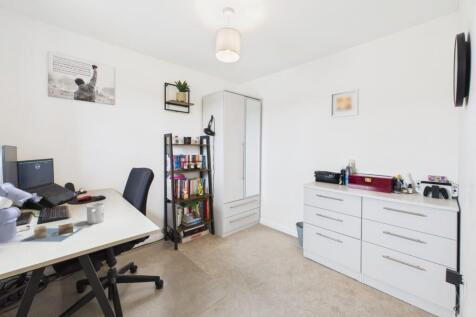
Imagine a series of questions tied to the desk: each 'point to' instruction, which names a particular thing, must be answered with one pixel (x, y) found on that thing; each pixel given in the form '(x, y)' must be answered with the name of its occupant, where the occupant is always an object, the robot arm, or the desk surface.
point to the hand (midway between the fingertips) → (48, 207)
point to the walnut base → (65, 229)
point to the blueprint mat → (52, 236)
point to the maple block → (40, 232)
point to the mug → (95, 213)
